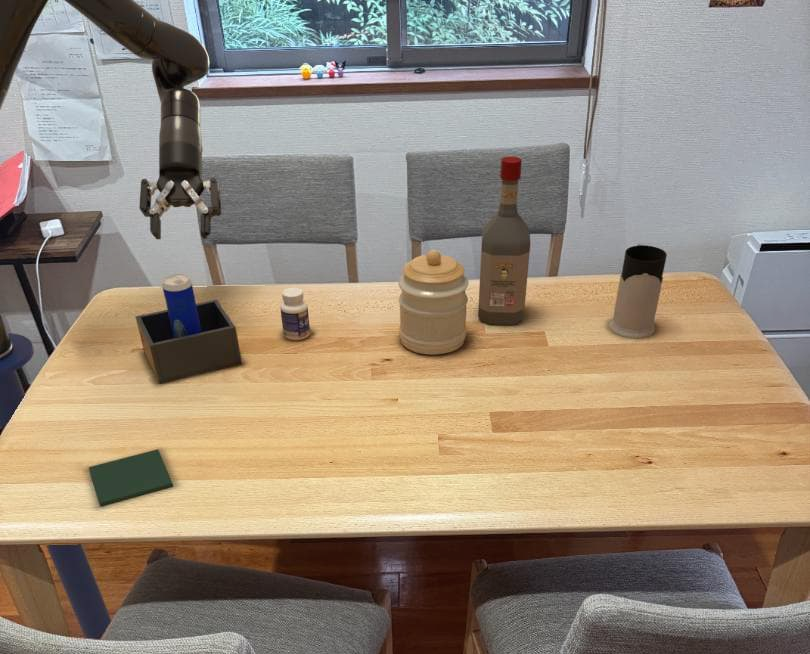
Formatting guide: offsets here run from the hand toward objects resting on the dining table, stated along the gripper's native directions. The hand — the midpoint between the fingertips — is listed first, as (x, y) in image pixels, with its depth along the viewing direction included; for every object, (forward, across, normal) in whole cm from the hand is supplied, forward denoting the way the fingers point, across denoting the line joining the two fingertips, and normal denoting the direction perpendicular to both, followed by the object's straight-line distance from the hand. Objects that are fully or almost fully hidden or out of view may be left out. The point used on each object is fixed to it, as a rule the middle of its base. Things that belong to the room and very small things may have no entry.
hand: (180, 237), depth 147 cm
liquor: (+9, +60, +19) cm, 64 cm away
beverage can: (+20, 0, +8) cm, 21 cm away
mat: (+46, -3, -18) cm, 50 cm away
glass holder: (+12, +86, +17) cm, 88 cm away
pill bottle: (+14, +19, +14) cm, 28 cm away
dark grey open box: (+20, 0, +8) cm, 22 cm away
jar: (+16, +46, +12) cm, 50 cm away
